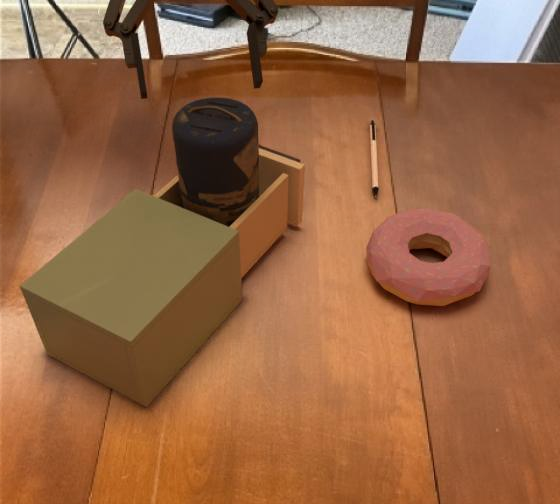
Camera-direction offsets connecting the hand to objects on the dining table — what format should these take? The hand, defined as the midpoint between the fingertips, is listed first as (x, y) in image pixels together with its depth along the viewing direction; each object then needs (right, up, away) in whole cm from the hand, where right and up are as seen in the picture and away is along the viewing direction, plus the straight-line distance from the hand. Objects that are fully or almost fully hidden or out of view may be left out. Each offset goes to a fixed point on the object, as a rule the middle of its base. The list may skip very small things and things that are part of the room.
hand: (201, 90), depth 80 cm
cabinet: (-6, -28, 0) cm, 29 cm away
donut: (+28, -20, +6) cm, 35 cm away
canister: (+2, -16, +7) cm, 18 cm away
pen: (+23, -2, +21) cm, 31 cm away
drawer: (+3, -15, +9) cm, 18 cm away
